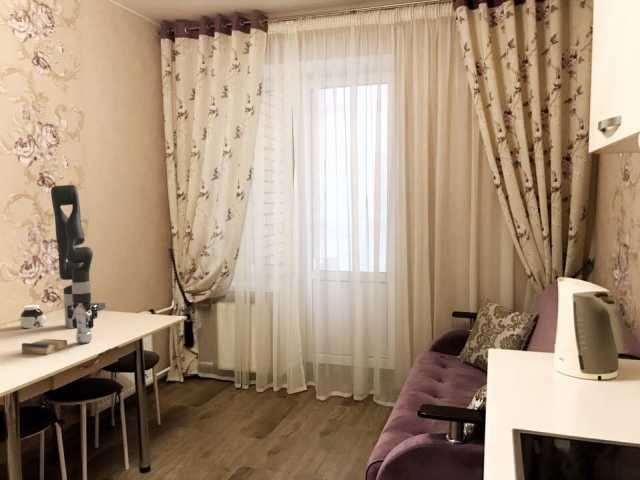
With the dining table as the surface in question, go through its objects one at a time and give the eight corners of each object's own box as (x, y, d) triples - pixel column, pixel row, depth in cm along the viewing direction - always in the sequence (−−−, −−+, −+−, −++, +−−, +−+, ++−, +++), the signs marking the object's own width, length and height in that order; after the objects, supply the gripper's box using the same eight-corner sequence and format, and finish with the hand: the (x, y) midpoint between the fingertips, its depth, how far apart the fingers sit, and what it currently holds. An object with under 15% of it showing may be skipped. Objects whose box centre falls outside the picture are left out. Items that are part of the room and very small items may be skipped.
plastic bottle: (95, 341, 227) (93, 298, 225) (84, 345, 220) (82, 300, 219) (84, 340, 229) (82, 297, 227) (72, 344, 222) (70, 300, 221)
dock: (43, 345, 221) (43, 336, 220) (67, 346, 218) (66, 337, 218) (22, 353, 209) (21, 343, 209) (46, 355, 206) (46, 345, 206)
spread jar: (23, 331, 247) (21, 308, 246) (18, 327, 256) (17, 305, 255) (49, 327, 255) (48, 305, 254) (44, 323, 263) (43, 302, 263)
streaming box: (106, 310, 298) (106, 302, 298) (98, 314, 285) (97, 307, 285) (85, 310, 297) (84, 303, 297) (75, 315, 285) (75, 307, 284)
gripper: (100, 290, 225) (102, 326, 226) (73, 290, 228) (75, 325, 229) (90, 293, 218) (91, 330, 219) (61, 292, 221) (63, 329, 222)
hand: (83, 327), depth 224 cm, fingers open, 7 cm apart
